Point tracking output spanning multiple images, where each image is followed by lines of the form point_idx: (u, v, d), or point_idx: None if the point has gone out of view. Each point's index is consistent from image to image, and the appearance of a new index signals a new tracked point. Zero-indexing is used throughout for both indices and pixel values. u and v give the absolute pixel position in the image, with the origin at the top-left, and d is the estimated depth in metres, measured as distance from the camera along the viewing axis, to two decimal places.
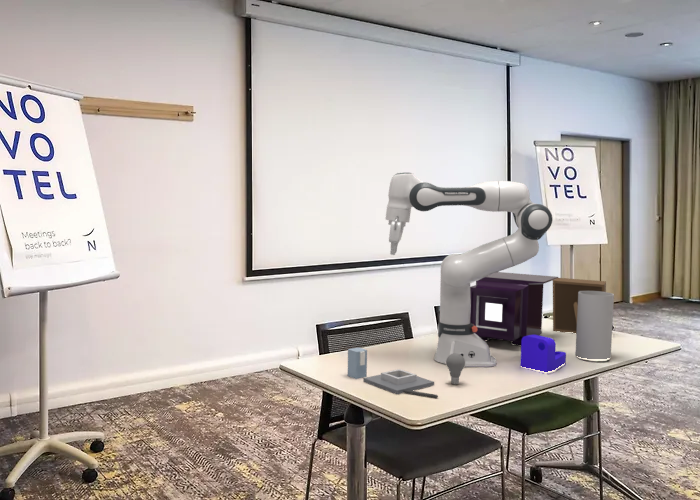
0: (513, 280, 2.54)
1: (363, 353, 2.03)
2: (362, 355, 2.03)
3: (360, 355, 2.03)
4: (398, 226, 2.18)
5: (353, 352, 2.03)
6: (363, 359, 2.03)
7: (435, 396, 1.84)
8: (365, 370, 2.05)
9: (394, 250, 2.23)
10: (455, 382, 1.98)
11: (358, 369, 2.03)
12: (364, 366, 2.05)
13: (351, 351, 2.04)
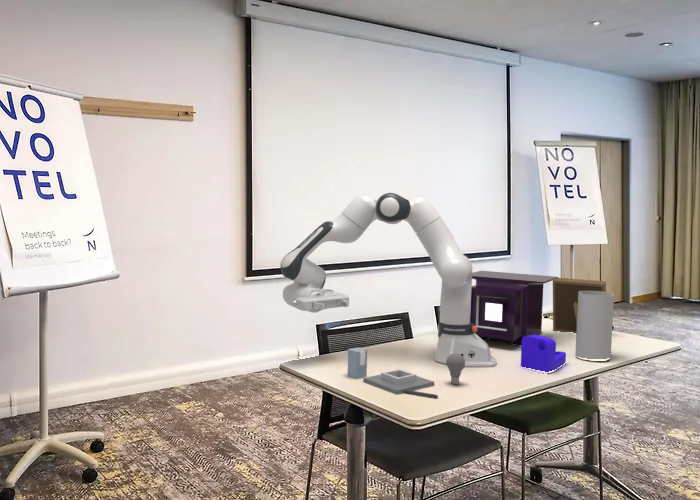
0: (513, 280, 2.54)
1: (363, 353, 2.03)
2: (362, 355, 2.03)
3: (360, 355, 2.03)
4: (296, 300, 2.16)
5: (353, 352, 2.03)
6: (363, 359, 2.03)
7: (435, 396, 1.84)
8: (365, 370, 2.05)
9: (320, 305, 2.11)
10: (455, 382, 1.98)
11: (358, 369, 2.03)
12: (364, 366, 2.05)
13: (351, 351, 2.04)
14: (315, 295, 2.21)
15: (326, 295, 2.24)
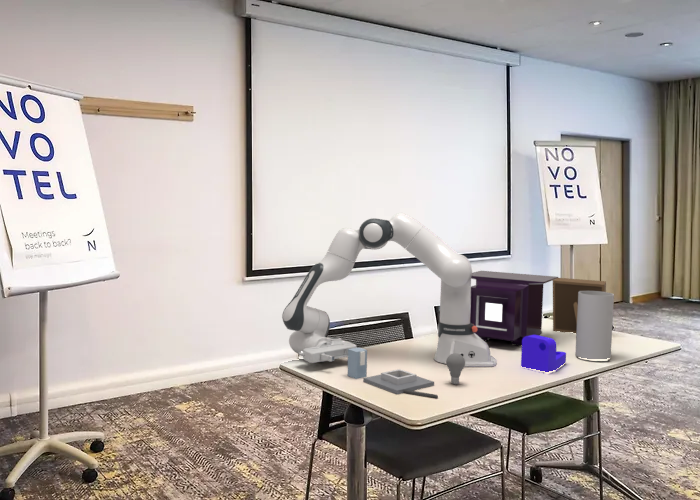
0: (513, 280, 2.54)
1: (363, 353, 2.03)
2: (362, 355, 2.03)
3: (360, 355, 2.03)
4: (303, 351, 2.14)
5: (353, 352, 2.03)
6: (363, 359, 2.03)
7: (435, 396, 1.84)
8: (365, 370, 2.05)
9: (327, 356, 2.09)
10: (455, 382, 1.98)
11: (358, 369, 2.03)
12: (364, 366, 2.05)
13: (351, 351, 2.04)
14: (322, 345, 2.19)
15: (333, 344, 2.22)
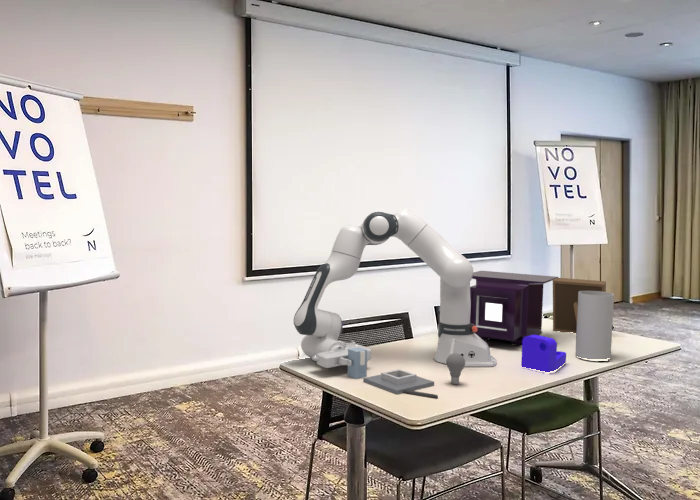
0: (513, 280, 2.54)
1: (363, 353, 2.03)
2: (362, 355, 2.03)
3: (360, 355, 2.03)
4: (317, 356, 2.07)
5: (353, 352, 2.03)
6: (363, 359, 2.03)
7: (435, 396, 1.84)
8: (365, 370, 2.05)
9: (346, 361, 2.04)
10: (455, 382, 1.98)
11: (358, 369, 2.03)
12: (364, 366, 2.05)
13: (351, 351, 2.04)
14: (336, 349, 2.12)
15: (347, 348, 2.15)
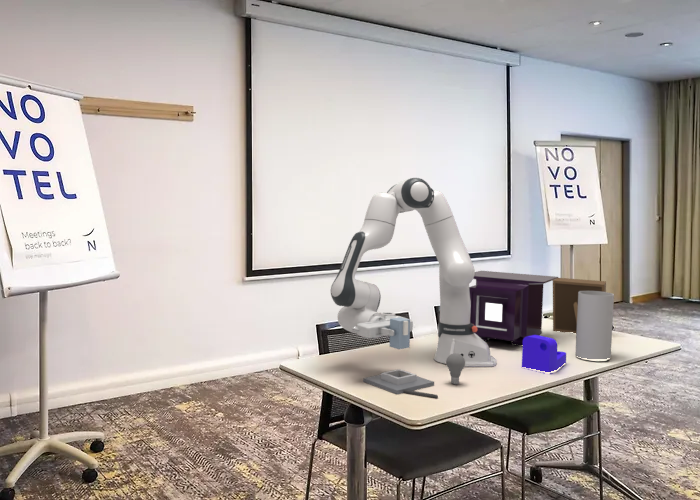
0: (513, 280, 2.54)
1: (406, 322, 1.94)
2: (405, 324, 1.94)
3: (403, 324, 1.94)
4: (357, 326, 1.99)
5: (396, 321, 1.95)
6: (406, 329, 1.95)
7: (435, 396, 1.84)
8: (408, 340, 1.97)
9: (389, 330, 1.95)
10: (455, 382, 1.98)
11: (401, 340, 1.95)
12: (407, 336, 1.96)
13: (394, 320, 1.96)
14: (377, 320, 2.04)
15: (388, 319, 2.06)
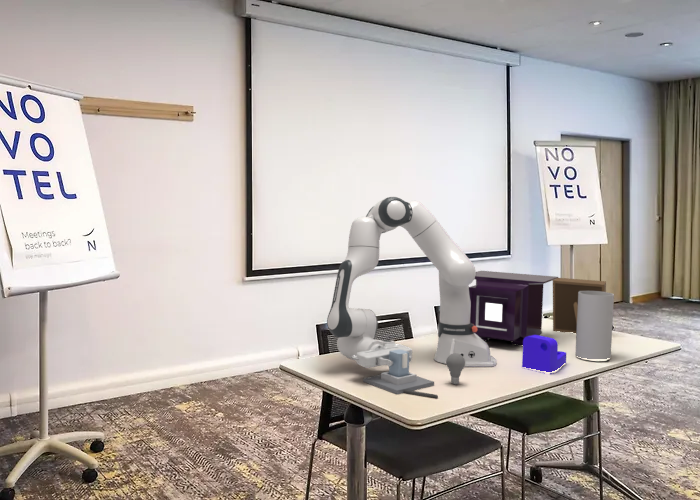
0: (513, 280, 2.54)
1: (405, 355, 1.95)
2: (404, 357, 1.95)
3: (402, 357, 1.95)
4: (357, 355, 1.99)
5: (395, 354, 1.96)
6: (405, 361, 1.95)
7: (435, 396, 1.84)
8: (407, 373, 1.97)
9: (386, 361, 1.95)
10: (455, 382, 1.98)
11: (401, 372, 1.95)
12: (406, 369, 1.97)
13: (393, 353, 1.96)
14: (376, 348, 2.04)
15: (387, 347, 2.07)
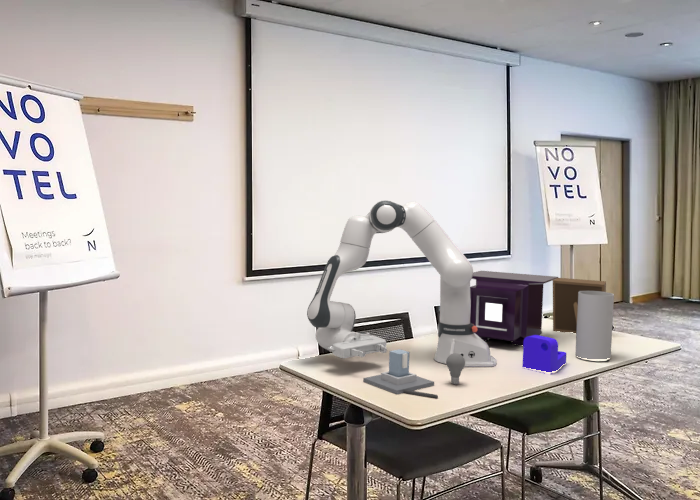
0: (513, 280, 2.54)
1: (405, 355, 1.95)
2: (404, 357, 1.95)
3: (402, 357, 1.95)
4: (333, 346, 2.09)
5: (395, 354, 1.96)
6: (405, 361, 1.95)
7: (435, 396, 1.84)
8: (407, 373, 1.97)
9: (358, 352, 2.05)
10: (455, 382, 1.98)
11: (401, 372, 1.95)
12: (406, 369, 1.97)
13: (393, 353, 1.96)
14: (352, 340, 2.14)
15: (362, 339, 2.17)
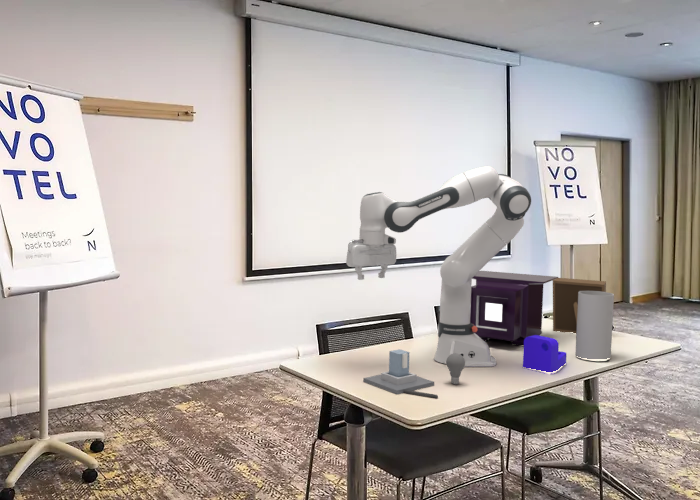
0: (513, 280, 2.54)
1: (405, 355, 1.95)
2: (404, 357, 1.95)
3: (402, 357, 1.95)
4: (352, 249, 2.08)
5: (395, 354, 1.96)
6: (405, 361, 1.95)
7: (435, 396, 1.84)
8: (407, 373, 1.97)
9: (360, 275, 2.12)
10: (455, 382, 1.98)
11: (401, 372, 1.95)
12: (406, 369, 1.97)
13: (393, 353, 1.96)
14: (373, 249, 2.12)
15: (383, 249, 2.16)
